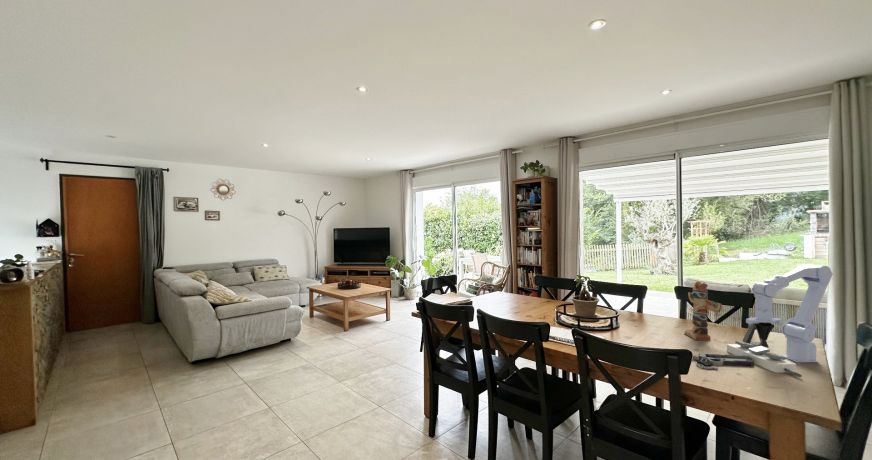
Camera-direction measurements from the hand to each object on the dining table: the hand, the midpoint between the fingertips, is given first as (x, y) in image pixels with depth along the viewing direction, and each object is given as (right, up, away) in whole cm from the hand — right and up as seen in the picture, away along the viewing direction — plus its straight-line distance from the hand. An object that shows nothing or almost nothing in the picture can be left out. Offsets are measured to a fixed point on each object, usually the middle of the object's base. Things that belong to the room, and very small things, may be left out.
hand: (763, 339), depth 161 cm
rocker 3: (-2, -5, -7) cm, 9 cm away
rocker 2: (-2, -5, 0) cm, 5 cm away
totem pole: (-6, -9, +33) cm, 35 cm away
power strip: (-2, -10, -3) cm, 11 cm away
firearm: (-20, -11, -3) cm, 23 cm away
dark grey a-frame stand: (+15, -9, +22) cm, 28 cm away
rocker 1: (-2, -5, +7) cm, 9 cm away
